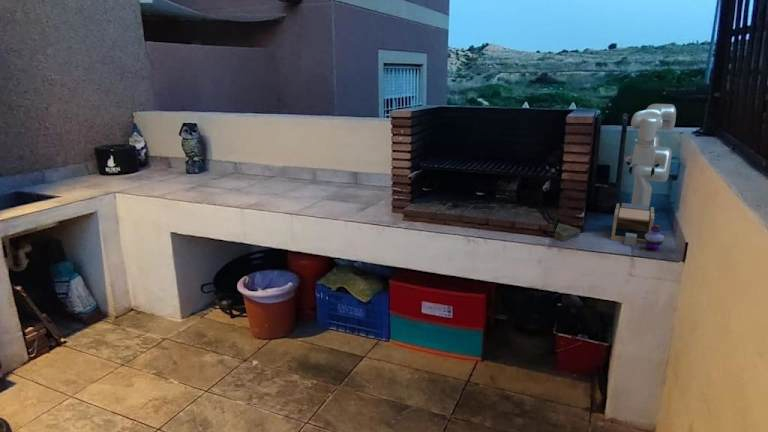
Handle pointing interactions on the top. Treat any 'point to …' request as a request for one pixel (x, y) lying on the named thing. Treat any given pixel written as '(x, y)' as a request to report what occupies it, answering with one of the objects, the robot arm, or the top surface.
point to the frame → (631, 225)
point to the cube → (630, 239)
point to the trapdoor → (634, 212)
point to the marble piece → (566, 232)
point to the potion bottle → (654, 238)
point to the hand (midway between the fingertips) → (640, 175)
